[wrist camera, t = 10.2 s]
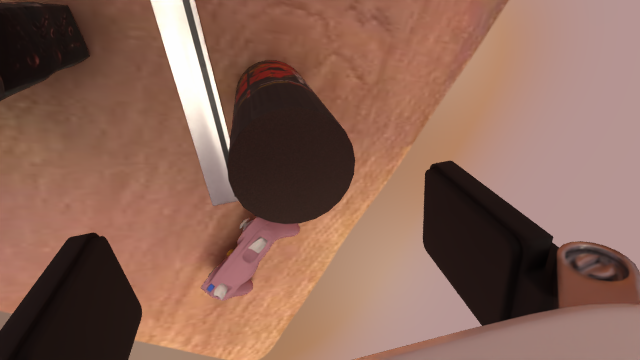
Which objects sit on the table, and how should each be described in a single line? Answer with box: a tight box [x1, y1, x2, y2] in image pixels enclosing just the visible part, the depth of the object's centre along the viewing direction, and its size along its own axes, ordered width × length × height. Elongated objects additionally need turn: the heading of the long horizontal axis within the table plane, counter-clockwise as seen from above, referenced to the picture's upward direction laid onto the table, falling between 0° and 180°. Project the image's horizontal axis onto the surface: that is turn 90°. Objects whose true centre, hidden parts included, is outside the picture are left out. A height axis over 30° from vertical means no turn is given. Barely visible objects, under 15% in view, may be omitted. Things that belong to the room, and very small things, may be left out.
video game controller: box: [201, 217, 300, 300], centre depth 33 cm, size 10×5×7 cm, turn 142°
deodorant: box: [227, 60, 355, 224], centre depth 23 cm, size 6×6×15 cm
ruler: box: [150, 0, 239, 206], centre depth 28 cm, size 22×3×1 cm, turn 7°
